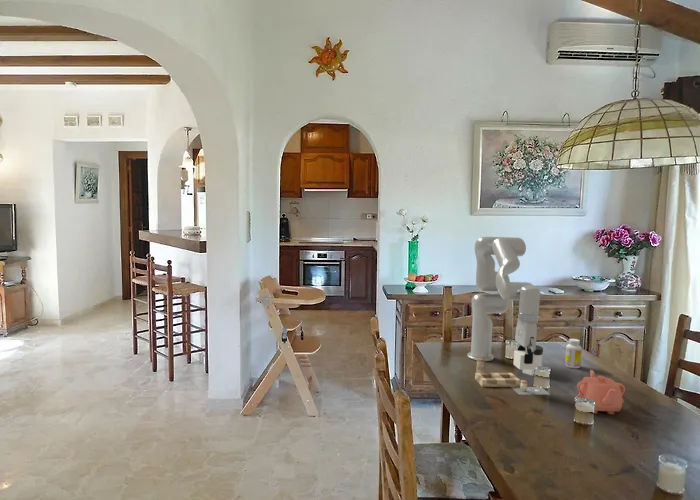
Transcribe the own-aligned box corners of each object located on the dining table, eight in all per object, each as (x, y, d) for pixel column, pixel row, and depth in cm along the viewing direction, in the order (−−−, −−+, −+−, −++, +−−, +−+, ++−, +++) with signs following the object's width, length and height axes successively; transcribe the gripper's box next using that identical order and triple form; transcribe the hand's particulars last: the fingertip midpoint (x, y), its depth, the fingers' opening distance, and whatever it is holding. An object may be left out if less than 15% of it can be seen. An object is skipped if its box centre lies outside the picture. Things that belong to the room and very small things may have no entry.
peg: (474, 376, 223) (475, 358, 222) (482, 376, 223) (483, 358, 222) (477, 378, 219) (478, 360, 218) (484, 378, 220) (485, 360, 219)
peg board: (474, 379, 218) (475, 372, 218) (511, 379, 220) (511, 372, 219) (482, 387, 209) (482, 380, 209) (519, 387, 211) (520, 380, 210)
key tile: (510, 387, 210) (511, 377, 209) (541, 387, 211) (542, 377, 211) (518, 395, 202) (519, 384, 202) (550, 395, 203) (551, 384, 203)
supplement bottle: (581, 366, 241) (583, 339, 240) (579, 369, 236) (581, 342, 234) (566, 363, 245) (568, 337, 244) (563, 367, 239) (565, 340, 238)
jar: (545, 374, 228) (547, 347, 227) (535, 377, 223) (537, 350, 222) (527, 368, 235) (529, 343, 234) (517, 371, 230) (519, 345, 229)
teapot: (588, 398, 201) (590, 367, 200) (632, 412, 188) (634, 379, 187) (567, 406, 192) (570, 373, 191) (612, 422, 179) (615, 387, 178)
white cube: (513, 364, 209) (514, 350, 208) (527, 364, 209) (529, 350, 209) (519, 369, 203) (520, 355, 202) (534, 369, 203) (535, 355, 202)
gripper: (510, 311, 212) (507, 353, 214) (528, 322, 194) (524, 368, 197) (527, 311, 212) (524, 353, 215) (547, 323, 195) (543, 368, 197)
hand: (524, 360), depth 206 cm, fingers closed on white cube, 6 cm apart
